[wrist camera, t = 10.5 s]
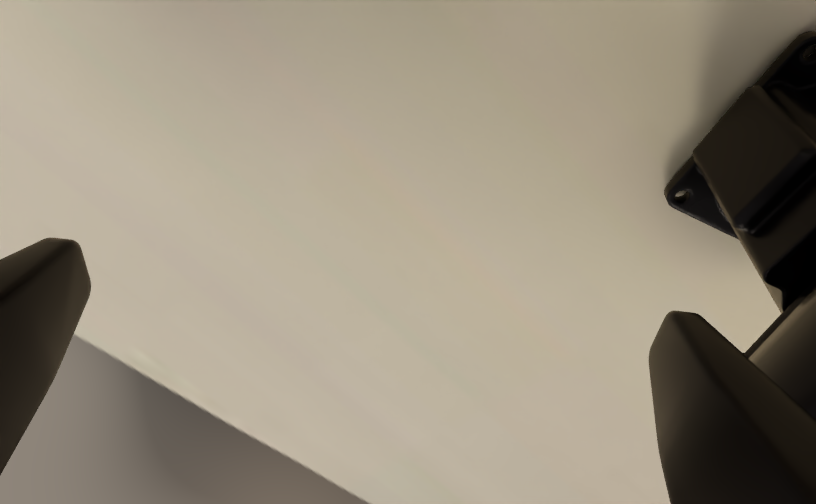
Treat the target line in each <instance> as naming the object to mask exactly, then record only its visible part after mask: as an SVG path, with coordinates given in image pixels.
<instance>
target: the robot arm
mask: <svg viewBox="0 0 816 504" xmlns="http://www.w3.org/2000/svg"><path fill="white" fill-rule="evenodd" d="M815 44H816V32H815V31H811V32H806V33H804V34H801V35H799V36H798V37H797V38H796V39H795V40H794V41H793V42H792V43H791V44H790V45H789V46H788V47H787V48H786V50H785V51H784V52H783V53H782V54H781V55H780V56H779V58H778V59H777V60H776V61H775V62H774V63H773V64H772V66H771V67H770V68H769V69H768V70H767V71H766V72H765V74H764V75H763V76H762V77H761V78H760V79H759V80H758V82H757V83H756V84H755V85H754V86H753V87H751V88H748V89H747V90H745V92H744V93H743V94H742V95H741V96H740V97H739V99H738V100H737V101H736V102H735V103H734V104H733V105H732V107H731V108H730V109H729V110H728V111H727V112H726V113H725V115H724V116H723V117H722V118H721V119H720V120H719V121H718V123H717V124H716V125H715V126H714V127H713V128H712V130H711V131H710V132H709V133H708V134H707V135H706V136H705V138H704V139H703V140H702V141H701V142H700V143H699V144H698V146H697V147H696V148H695V149H694V151H693V156H692V157H691V158H690V159H689V160H688V162H687V163H686V164H685V165H684V166H683V167H682V168H681V170H680V171H679V172H678V173H677V174H676V175H675V176H674V178H673V179H672V180H671V181H670V182H669V183H668V184H667V186H666V188H665V190H664V195H665V197H666V200H667V202H668V204H669V205H670V206H671V207H673V208H675V209H677V210H679V211H681V212H683V213H685V214H687V215H689V216H691V217H693V218H695V219H697V220H699V221H701V222H704V223H706V224H708V225H710V226H712V227H714V228H716V229H718V230H720V231H722V232H724V233H726V234H728V235H731V236H733V237H735V238H737V239H739V240H740V242H741V244H742V245H743V247H744V249H745V251H746V252H747V254H748V256H749V258H750V259H751V261H752V263H753V265H754V266H755V268H756V270H757V272H758V273H759V275H760V277H761V279H762V280H763V282H764V284H765V286H766V287H767V289H768V291H769V293H770V294H771V296H772V298H773V300H774V301H775V303H776V305H777V307H778V308H779V310H780V312H781V315H780V316H779V317H778V318H777V319H776V320H775V321H774V322H773V324H772V325H771V326H770V327H769V328H768V329H767V330H766V331H765V332H764V333H763V334H762V335H761V336H760V337H759V338H758V340H757V341H756V342H755V343H754V344H753V345H752V346H751V347H750V348H749V349H748V350H747V351H746V352H745V353H742V352H741V351H739V350H738V349H737V348H736V347H735V346H734V345H733V344H732V343H731V342H729V341H728V340H727V339H726V338H725V337H724V336H723V335H722V334H721V333H719V332H718V331H717V330H716V329H715V328H714V327H713V326H712V325H711V324H709V323H708V322H707V321H706V320H705V319H704V318H703V317H701V316H700V315H699V314H696V313H690V312H682V311H671V312H669V313H668V314H667V315H666V317H665V318H664V320H663V323H662V325H661V327H660V329H659V331H658V333H657V335H656V337H655V339H654V342H653V344H652V346H651V348H650V352H649V369H650V378H651V387H652V396H653V405H654V414H655V423H656V432H657V440H658V448H659V454H660V459H661V464H662V468H663V473H664V477H665V481H666V486H667V490H668V494H669V498H670V503H671V504H816V49H815V51H814V52H813V53H812V54H811V55H809V56H806V57H803V53H804V51H805V49H807V48H808V47H809V46H811V45H815ZM682 190H686V191H687V192H686V193H685V194H684V195H683V196H679V197H677V196H675V195H676V193H678V192H679V191H682ZM90 291H91V281H90V277H89V274H88V270H87V267H86V264H85V260H84V257H83V253H82V250H81V247H80V245H79V244H78V243H77V242H76V241H74V240H69V239H60V238H46V239H43V240H41V241H39V242H37V243H35V244H33V245H31V246H28V247H26V248H24V249H22V250H20V251H18V252H16V253H14V254H11V255H9V256H7V257H5V258H3V259H1V260H0V475H1V473H2V471H3V469H4V468H5V466H6V464H7V462H8V460H9V459H10V457H11V455H12V453H13V452H14V450H15V448H16V446H17V445H18V443H19V441H20V439H21V437H22V436H23V434H24V432H25V430H26V429H27V427H28V425H29V423H30V422H31V420H32V418H33V416H34V414H35V413H36V411H37V409H38V407H39V406H40V404H41V402H42V400H43V399H44V397H45V395H46V393H47V391H48V389H49V387H50V385H51V384H52V382H53V380H54V378H55V376H56V373H57V371H58V369H59V367H60V365H61V362H62V360H63V357H64V355H65V353H66V350H67V348H68V346H69V343H70V341H71V338H72V336H73V334H74V331H75V329H76V327H77V324H78V322H79V319H80V317H81V315H82V312H83V310H84V308H85V305H86V303H87V300H88V298H89V295H90Z"/></svg>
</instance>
